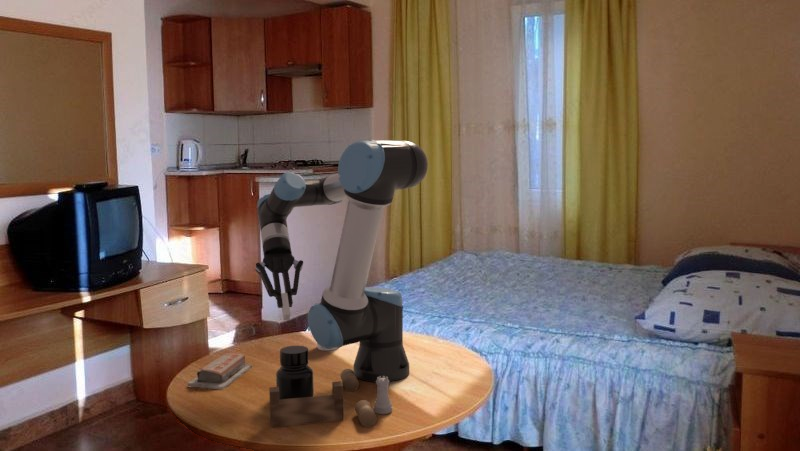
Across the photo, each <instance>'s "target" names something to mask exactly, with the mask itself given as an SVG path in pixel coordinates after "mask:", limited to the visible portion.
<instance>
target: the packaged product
mask: <svg viewBox="0 0 800 451" xmlns="http://www.w3.org/2000/svg"><path fill="white" fill-rule="evenodd" d="M252 367H253V364H248V363H247V364H246V355H245V354H243V353H241V352H224V353H222V354H221V355H219V356H218V357H216V358H215V359H212V360H211V361H210V362H209V363H207V364H206V365H204V366H202V367H201V368H199V370H197V372H196V377H194V378H193V379H191V380H190V381H187V387H188V386H191V387H190V388H193V387H201V388H200V389H206V388H208V389H210V390H222V389H223V390H225V389H226V388H227V387H228V386H230V384H232V383H233V382H235V381H236V380H238V379H239V378H240V377H241V376H243V375H244V374H246V372H247V371H249V370H250V369H252ZM208 389H207V390H208Z"/></svg>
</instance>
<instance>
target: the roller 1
mask: <svg viewBox="0 0 800 451" xmlns="http://www.w3.org/2000/svg"><path fill="white" fill-rule="evenodd" d="M340 379H341V382H342V385H343V387H344V388H345V390H346V391H348V392H354V391H356V390H358V388H359V383H360V382H359V381H358V378H357V377H356V376H355V374H354V372H353V369H351V368H345V369H343V370H342V371H341V373H340Z"/></svg>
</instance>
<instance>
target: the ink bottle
mask: <svg viewBox="0 0 800 451" xmlns="http://www.w3.org/2000/svg"><path fill="white" fill-rule="evenodd" d="M279 363H280V368H279V369H278V370H277V371H276V374H275V375H276V376H275V378H276V379H275V380H276V381H275V382H276V386H275V387H279V400H281V399H292V398H303V397H314V395H315V394H314V390H315V389H314V370H313V369H312V367H310V366H309V348H308V347H307V346H304V345H290V346H289V345H288V346H283V347H282V348H281V349H280V350H279Z"/></svg>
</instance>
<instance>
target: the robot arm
mask: <svg viewBox="0 0 800 451" xmlns="http://www.w3.org/2000/svg"><path fill="white" fill-rule="evenodd" d="M428 165H429V163H428V159H427V155H426V154H425V151H424V150H423V149H422V148H421V147H420V146H419V145H418V144H416V143H415V142H412V141H409V140H403V139H402V140H399V139H398V140H376V139H375V140H374V139H365V140H359V141H355V142H352V143H351V144H349V145H348V146H347V147H346V148H345V149H344V150H343V152H342V154H341V156H340V158H339V161H338V167H337V173H333V174H332V175H328V176H326V177H325V176H324V177H321V178H313V179H311V178H308V179H304V178H303V177H302V176H301V175H300V174H298V173H294V172H292V171H288V172H285V173H282V174H281V175H280V177H279V179H277V181H276V182H275V184H274V185H273V188H272V190H271V191H270V193H268V194H265V195H264V196H262V197H260V198H259V199H258V201H257V205H256V206H257V211H256V212H257V216H258V224H259V229H260V230H259V231H260V235H261V236H260V238H261V244H262V252H263V253H262V254H263V258H262V261H261V262H256V263H255V269H254V271H255V272H256V273H257V274H258V275H259V276H260V279H261V281H262V283H263V286H264V288H265V290H266V292H267V295H268V296H269V297H271V298H272V297H274V298H275V300H276V306H277V309H281V313H282V319H283V321H290V319H291V310H290V308H292V307H293V304H294V301H293V296H296V295H297V294H298V290H299V282H300V272H301V271H302V269H303V266H304V261H303V260H302V259H301V260H297V259H295V256H294V255H293V252H292V248H291V243H290V242H291V241H290V236H289V235H290V234H289V228H288V223H287V220H288V217H289V215H290V214H291V213H292V211H293V210H294V208H300V207H302V208H303V207H311V206H325V205H328V206H329V205H330V206H331V205H337V204H340V203H342V202H343V200H347V199H348V201H347V206H346V210H345V211H346V212H345V216H344V220H343V224H342V225H343V226H342V229H341V234H340V238H339V244H338V247H337V248H338V249H337V252H336V259H335V261H334V262H335V263H334V267H333V273H332V275H331V280H330V281H331V282H330V285H329V286H327V287H325V288H324V289H323V291H322V295H321V300H320V303H318V302H317V303H314V304H313V305H311V306H310V308H309V310H308V314H307V322H308V327H309V331H310V334H311V336H312V338H313V340H315V342H316V344H317V343H318V344H319V345H320V346H321V347H323V348H326V349H332V348H338V349H340V348H341V347H345V346H347V345H353V344H357V343H359V345H358V346H359V347H358V350H357V352H356V356H355V360H354V363H353V368H352V371H353V372H354V374H355V376H356V378H357V379H359V380H362V381H366V382H371V383H376V380H377V377H379V376H381V378H383V376H385V378H386V376H387V377H388V380H389V381H390V382H394V380H396V381H399V379H400V380H401V379H402V380H403V379H405V378H406V377H408V376H409V375H410V362H409V359H408V357H407V354H406V351H405V347H404V344H403V343H404V341H403V339H404V338H403V337H404V336H403V335H404V334H403V333H404V330H403V326H404V323H403V322H404V321H403V320H404V318H403V317H404V314H403V313H404V310H403V309H404V305H403V296H402V293H401V292H400V291H398V290H395V289H391V288H387V287H385V288H384V287H377V286H376V287H374V286H373V287H372V286H371V287H370V286H368V287H367V283H368V278H369V274H370V269H371V264H372V261H373V256H374V252H375V247H376V243H377V241H378V240H377V239H378V235H379V232H380V227H381V224H382V218H383V215H384V214H383V213H384V209H385V208H386V207H388V206H391V204H392V203H393V199H394V196H395V191H397V190H405V189H406V190H407V189H411V188H413V187H416V186H417V185H419V184H420V183H421V182H422V181H423V180H424V179H425V177H426V175H427V172H428V167H429V166H428ZM292 266H293V269H294V276H293V277H294V278H293V285H291V281H290V273H289V270H290V269H291V268H292ZM266 269H268V270H269V271H270V272H271V273H272V279H273V280H272V281H273V284H272V282H271V279H270V277H269V275H268V273H267V271H266ZM280 274H281V275H282V280H283V287H284V292H282V288H281V280H280ZM273 285H274V286H273ZM291 286H292V288H291Z"/></svg>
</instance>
